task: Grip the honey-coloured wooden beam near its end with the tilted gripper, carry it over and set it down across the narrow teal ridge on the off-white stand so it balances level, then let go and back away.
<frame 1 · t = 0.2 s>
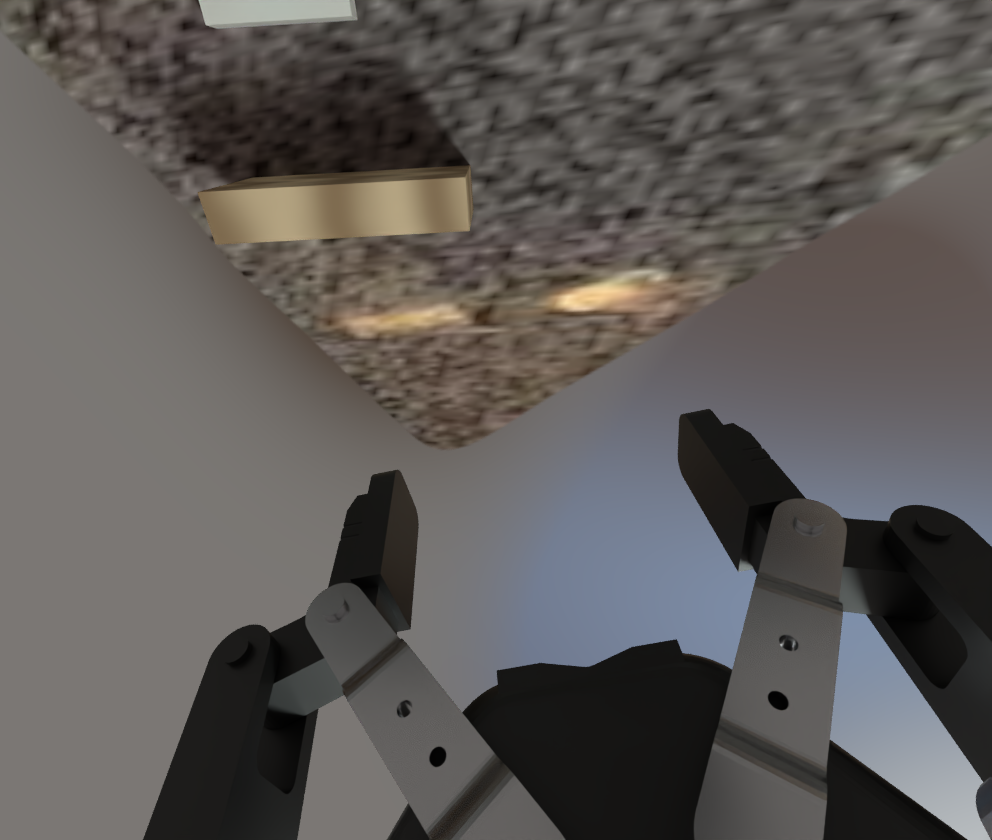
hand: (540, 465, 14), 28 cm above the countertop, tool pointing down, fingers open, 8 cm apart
wooden beam: (365, 193, 36), on the countertop
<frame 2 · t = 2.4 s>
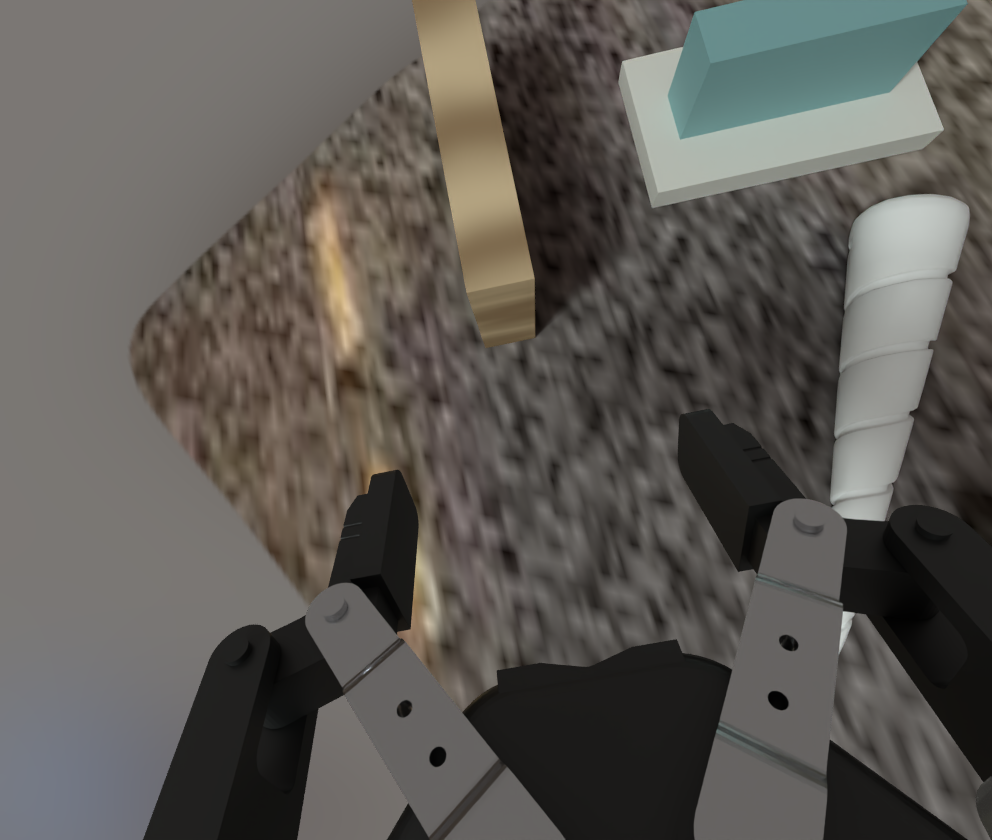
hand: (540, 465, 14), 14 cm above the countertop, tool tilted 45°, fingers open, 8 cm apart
ridge stand: (764, 114, 29), on the countertop
wooden beam: (486, 223, 30), on the countertop
unicorn horn: (857, 419, 27), on the countertop
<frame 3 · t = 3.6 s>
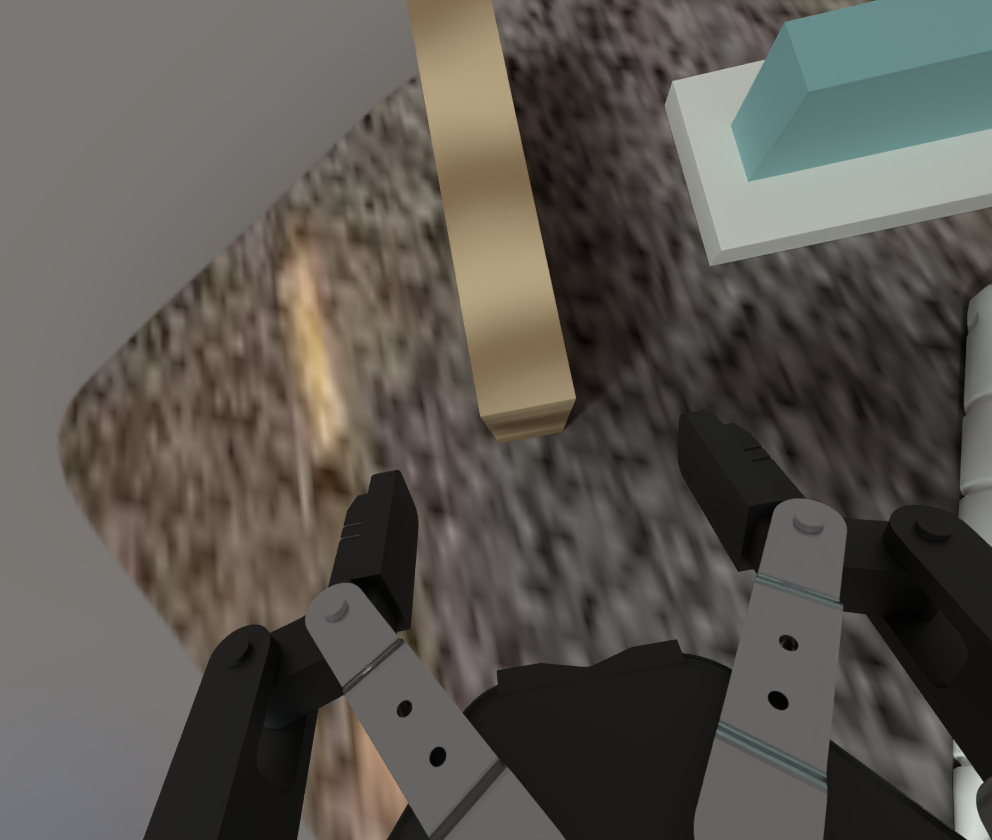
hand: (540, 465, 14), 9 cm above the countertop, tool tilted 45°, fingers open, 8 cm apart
ridge stand: (850, 147, 23), on the countertop
wooden beam: (500, 282, 24), on the countertop
unicorn horn: (981, 548, 21), on the countertop
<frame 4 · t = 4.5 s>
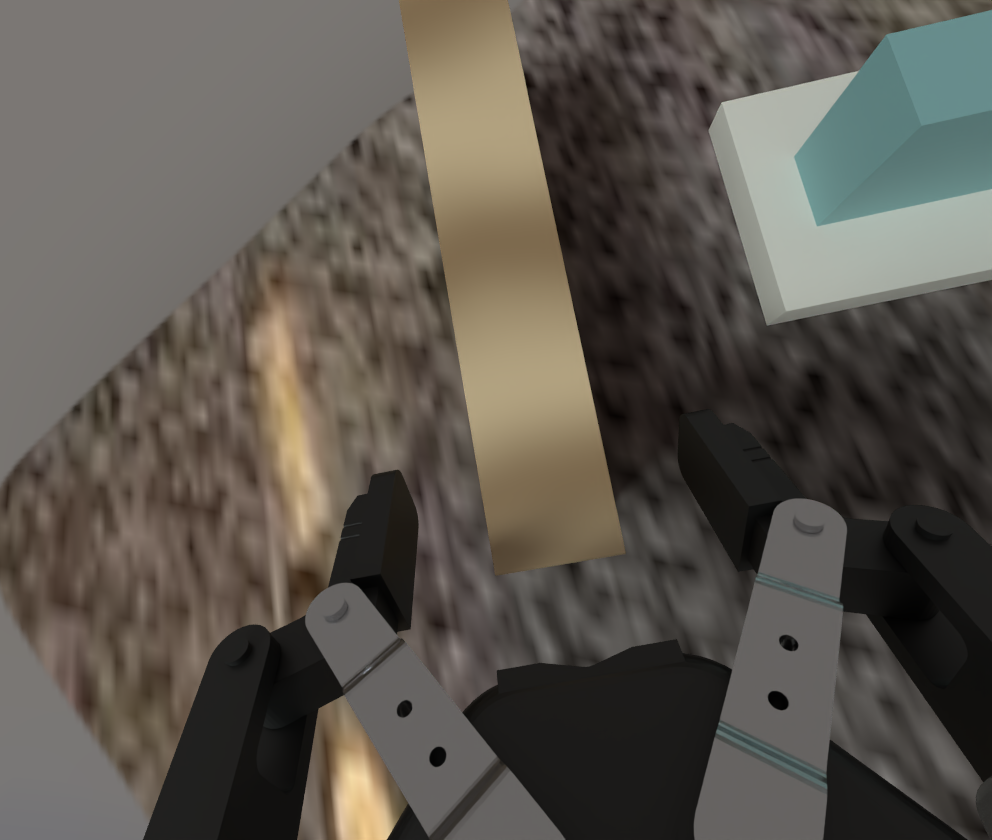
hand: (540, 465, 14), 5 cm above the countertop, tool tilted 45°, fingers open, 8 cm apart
ridge stand: (934, 181, 19), on the countertop
wooden beam: (514, 342, 20), on the countertop
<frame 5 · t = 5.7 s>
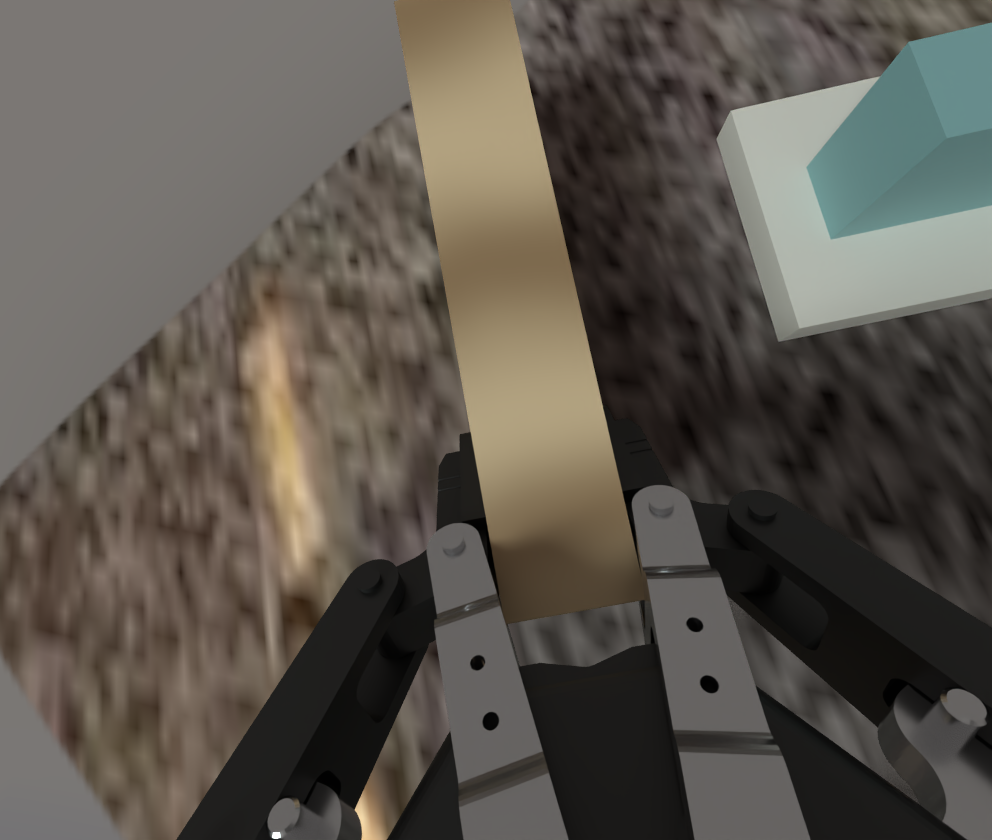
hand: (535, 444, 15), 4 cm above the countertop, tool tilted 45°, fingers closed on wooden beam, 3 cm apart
ridge stand: (951, 192, 19), on the countertop
wooden beam: (517, 358, 19), on the countertop, touching gripper
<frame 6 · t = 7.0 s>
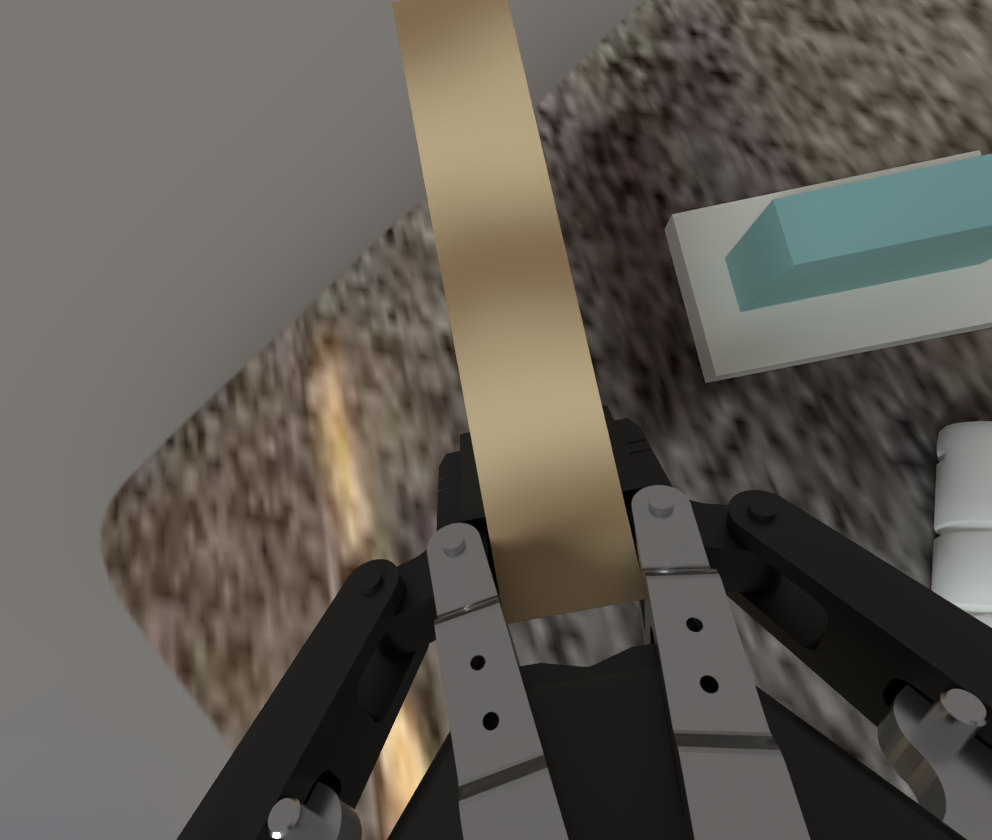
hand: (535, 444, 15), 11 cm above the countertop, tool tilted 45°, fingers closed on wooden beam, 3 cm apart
ridge stand: (831, 274, 26), on the countertop
wooden beam: (516, 358, 19), point 7 cm above the countertop, touching gripper
unicorn horn: (950, 656, 23), on the countertop
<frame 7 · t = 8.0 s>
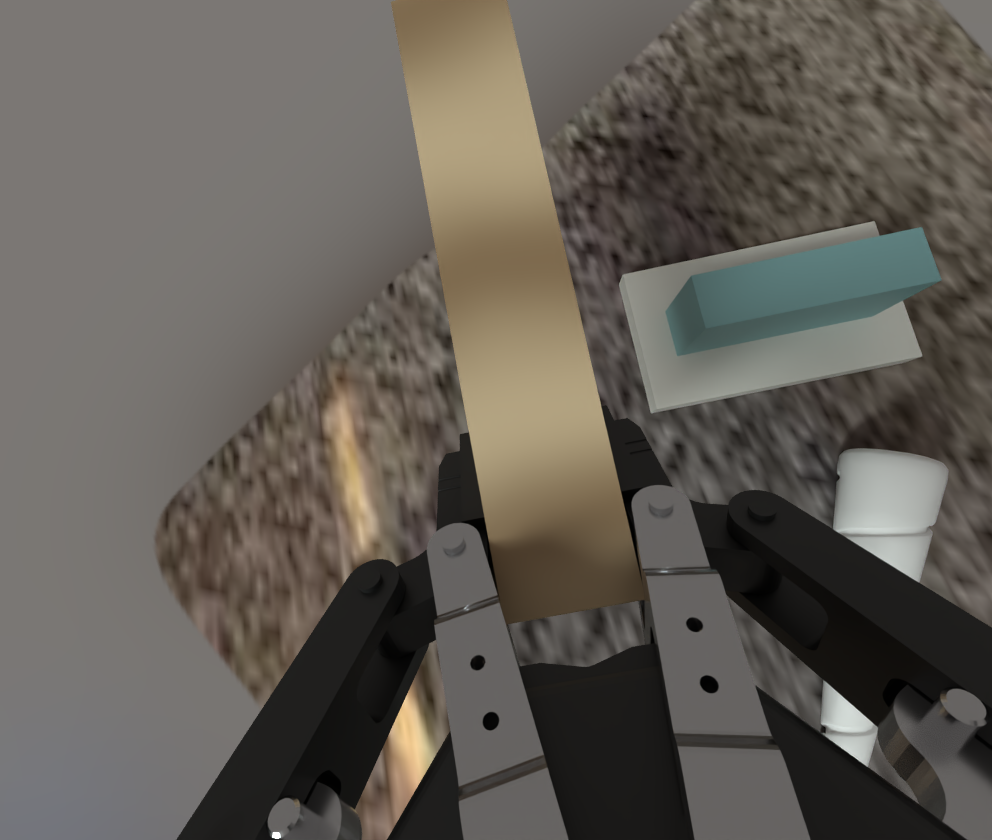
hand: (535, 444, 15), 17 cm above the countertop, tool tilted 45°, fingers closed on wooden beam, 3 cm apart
ridge stand: (756, 322, 31), on the countertop
wooden beam: (516, 358, 19), point 12 cm above the countertop, touching gripper
unicorn horn: (846, 637, 28), on the countertop
when the fingers open (11 cm above the countertop, at t = 10.8 s): wooden beam stays where it is, resting on ridge stand.
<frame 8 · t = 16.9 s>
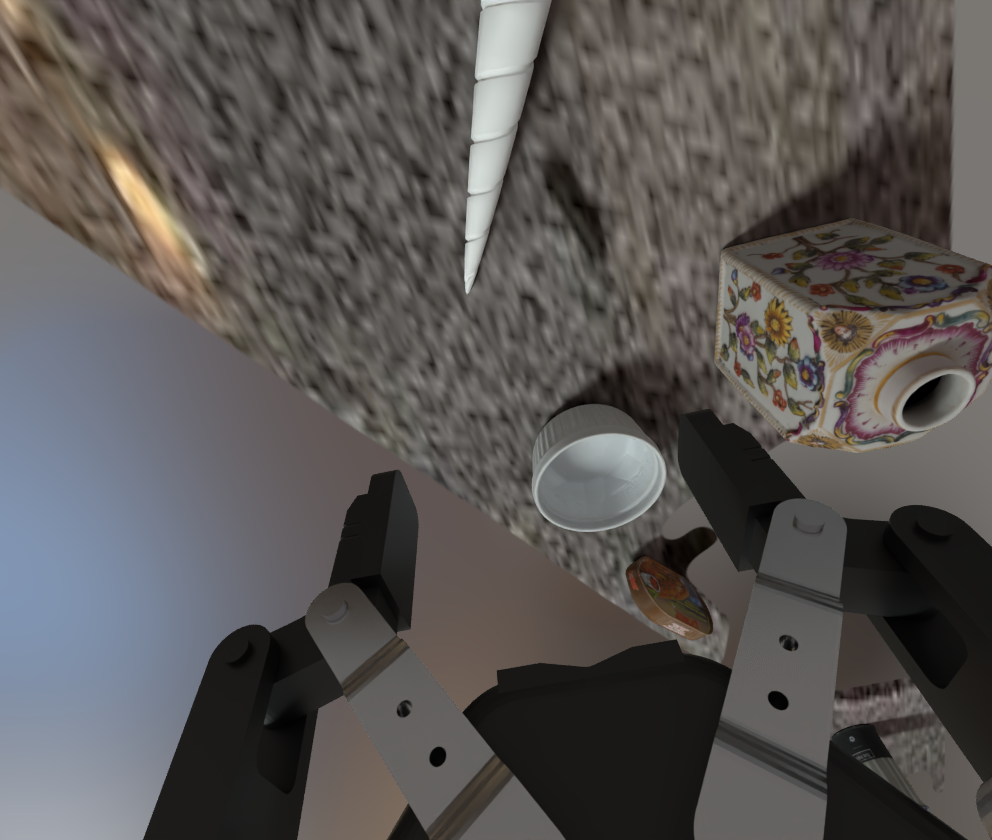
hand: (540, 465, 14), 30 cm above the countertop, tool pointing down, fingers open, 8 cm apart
decorative jar: (776, 294, 44), on the countertop
tin: (657, 571, 67), on the countertop
ramekin: (584, 442, 53), on the countertop
milk frother: (852, 738, 108), on the countertop
unicorn horn: (497, 123, 35), on the countertop
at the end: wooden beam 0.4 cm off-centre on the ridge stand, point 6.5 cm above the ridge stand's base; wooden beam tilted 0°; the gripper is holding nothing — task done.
